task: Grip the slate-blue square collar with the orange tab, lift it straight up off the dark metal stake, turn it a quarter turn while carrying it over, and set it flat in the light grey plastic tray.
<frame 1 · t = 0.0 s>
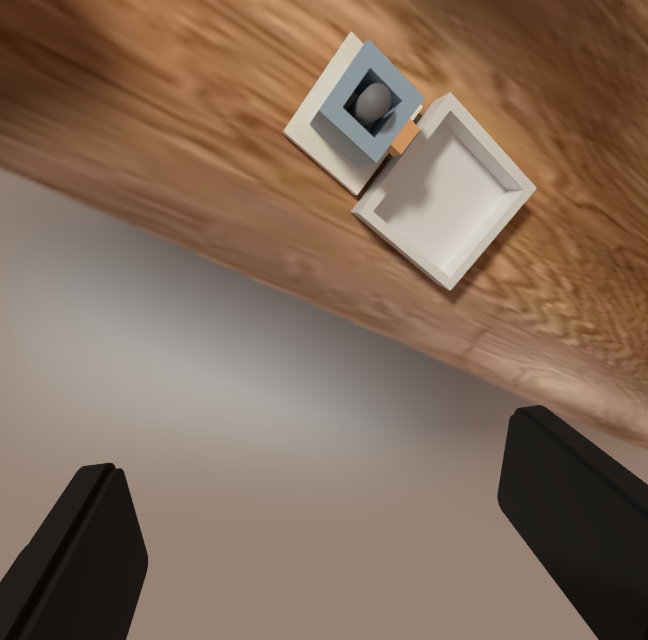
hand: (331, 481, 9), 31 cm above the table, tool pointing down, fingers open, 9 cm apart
collar: (354, 118, 33), point 1 cm above the table, touching stake
stake: (351, 121, 35), on the table
tray: (434, 199, 38), on the table
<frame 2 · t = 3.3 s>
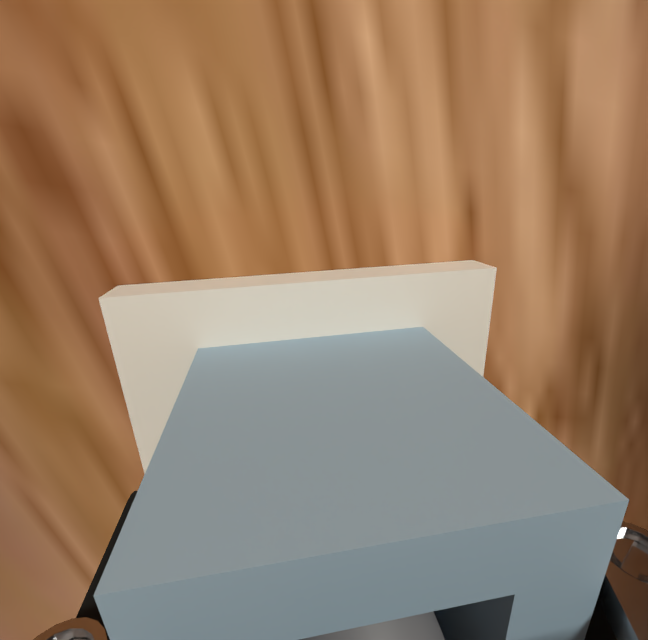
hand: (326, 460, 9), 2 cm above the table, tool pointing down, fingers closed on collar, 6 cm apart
collar: (320, 431, 11), point 1 cm above the table, touching gripper, stake
stake: (314, 408, 12), on the table
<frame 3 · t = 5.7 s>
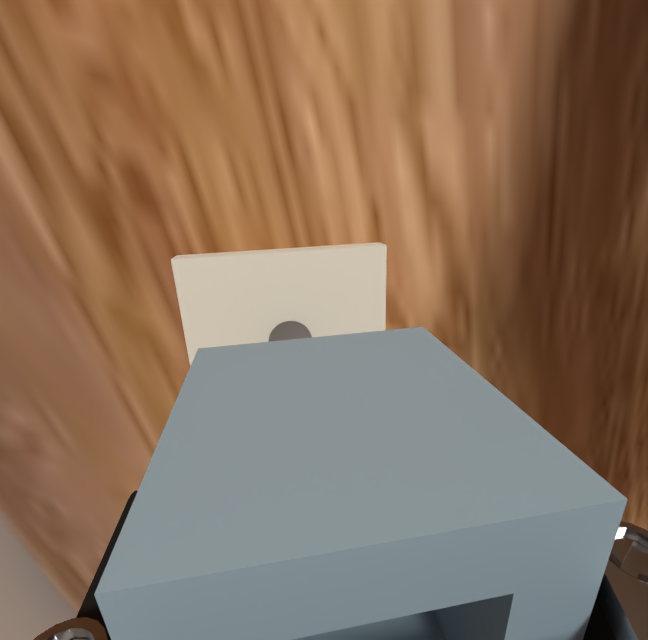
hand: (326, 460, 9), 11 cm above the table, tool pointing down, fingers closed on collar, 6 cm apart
collar: (320, 431, 11), point 9 cm above the table, touching gripper
stake: (288, 333, 19), on the table
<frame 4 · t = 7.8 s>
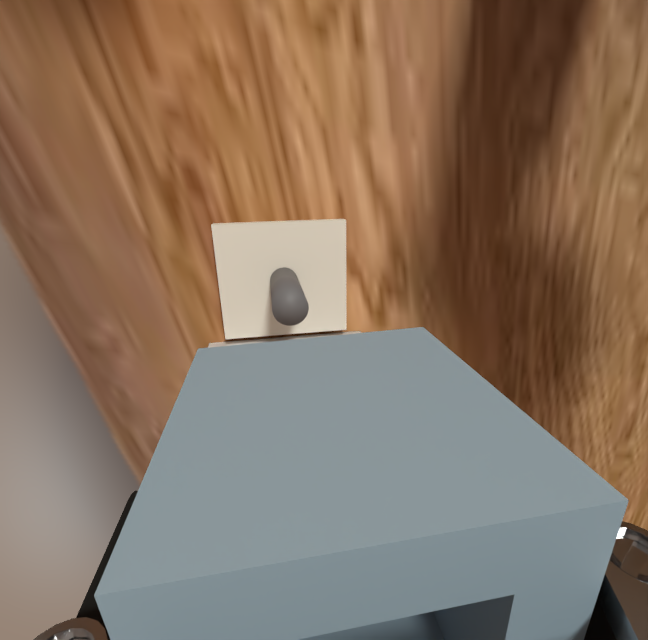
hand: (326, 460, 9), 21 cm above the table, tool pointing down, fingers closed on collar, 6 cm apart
collar: (320, 432, 11), point 20 cm above the table, touching gripper
stake: (283, 277, 29), on the table
tray: (291, 401, 33), on the table
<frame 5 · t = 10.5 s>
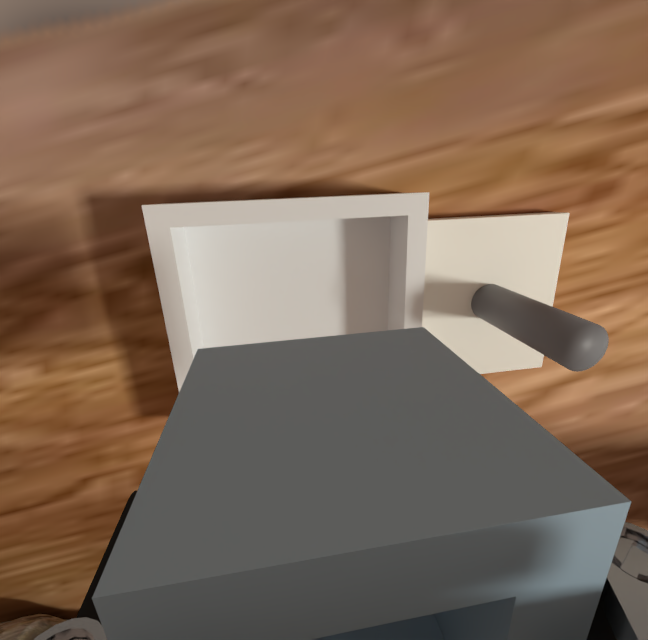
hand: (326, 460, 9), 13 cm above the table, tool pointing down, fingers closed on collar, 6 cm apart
collar: (320, 432, 10), point 12 cm above the table, touching gripper
stake: (477, 296, 23), on the table
decorative bird: (38, 613, 27), on the table
tray: (296, 311, 22), on the table
when the fingers open (3 cm above the table, at t = 12.7 s): collar drops 1 cm, resting on tray.
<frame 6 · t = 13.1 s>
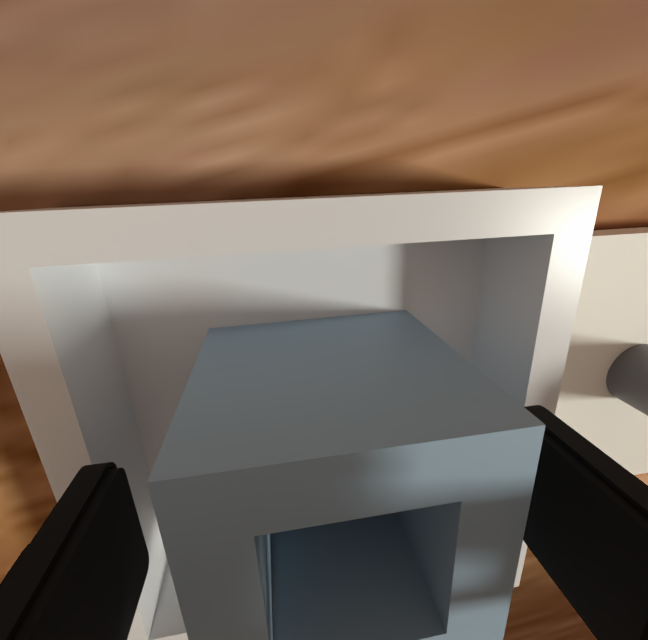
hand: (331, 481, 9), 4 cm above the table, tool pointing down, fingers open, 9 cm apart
collar: (316, 404, 12), point 1 cm above the table, touching tray
stake: (604, 357, 14), on the table
tray: (310, 392, 13), on the table
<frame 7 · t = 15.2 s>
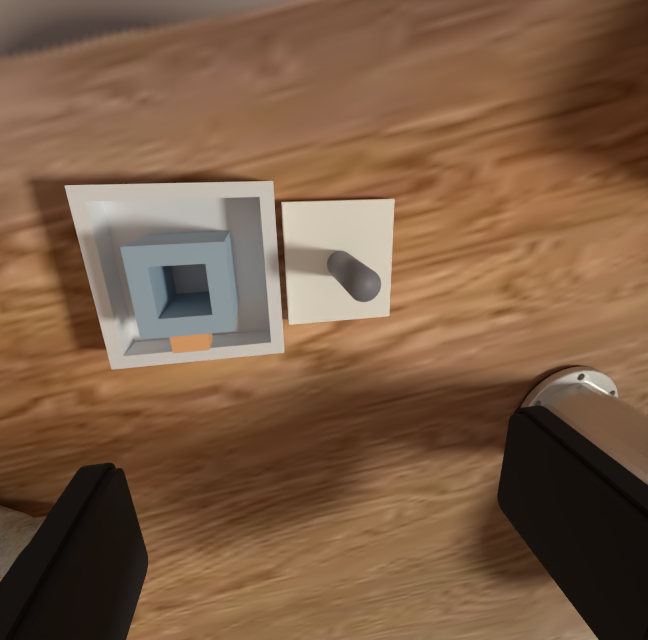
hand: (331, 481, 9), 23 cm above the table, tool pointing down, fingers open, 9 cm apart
collar: (195, 271, 28), point 1 cm above the table, touching tray
stake: (337, 261, 31), on the table
tray: (195, 269, 29), on the table
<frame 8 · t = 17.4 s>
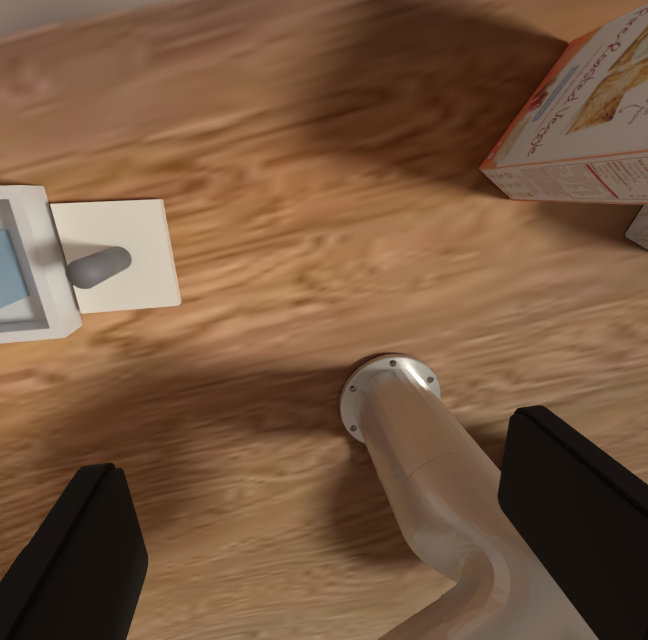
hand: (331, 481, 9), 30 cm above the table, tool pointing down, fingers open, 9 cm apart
cracker box: (535, 125, 37), on the table
stake: (123, 256, 34), on the table
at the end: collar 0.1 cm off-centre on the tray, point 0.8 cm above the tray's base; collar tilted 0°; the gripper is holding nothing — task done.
